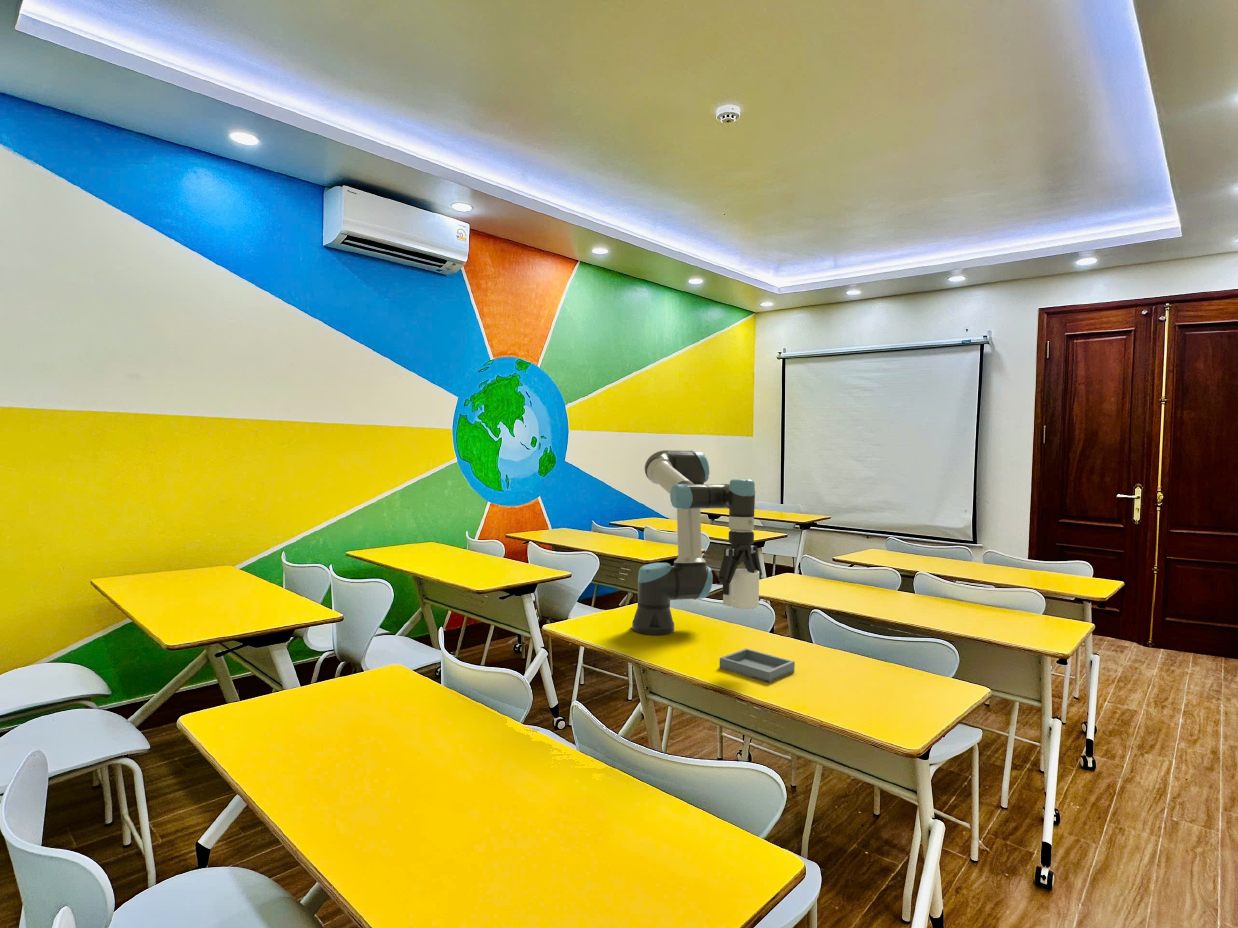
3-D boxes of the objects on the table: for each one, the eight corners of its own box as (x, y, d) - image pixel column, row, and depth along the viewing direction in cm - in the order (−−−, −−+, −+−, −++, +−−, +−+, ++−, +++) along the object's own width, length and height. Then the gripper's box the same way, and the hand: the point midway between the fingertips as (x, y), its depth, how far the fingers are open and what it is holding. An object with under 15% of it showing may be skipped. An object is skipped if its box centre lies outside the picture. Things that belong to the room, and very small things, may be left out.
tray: (719, 667, 200) (719, 657, 200) (745, 657, 210) (746, 648, 210) (769, 682, 189) (769, 672, 188) (794, 671, 199) (794, 661, 199)
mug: (714, 605, 202) (715, 570, 202) (745, 602, 208) (746, 567, 208) (732, 611, 195) (733, 574, 195) (764, 607, 201) (765, 572, 201)
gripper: (727, 534, 190) (725, 610, 190) (774, 529, 207) (773, 599, 207) (706, 531, 196) (705, 605, 196) (754, 527, 212) (752, 595, 213)
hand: (740, 602), depth 201 cm, fingers closed on mug, 12 cm apart
